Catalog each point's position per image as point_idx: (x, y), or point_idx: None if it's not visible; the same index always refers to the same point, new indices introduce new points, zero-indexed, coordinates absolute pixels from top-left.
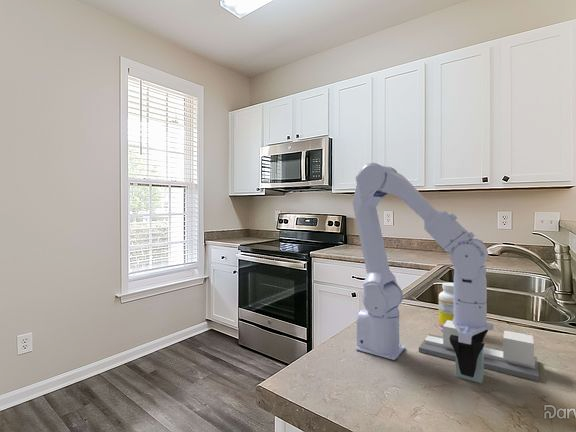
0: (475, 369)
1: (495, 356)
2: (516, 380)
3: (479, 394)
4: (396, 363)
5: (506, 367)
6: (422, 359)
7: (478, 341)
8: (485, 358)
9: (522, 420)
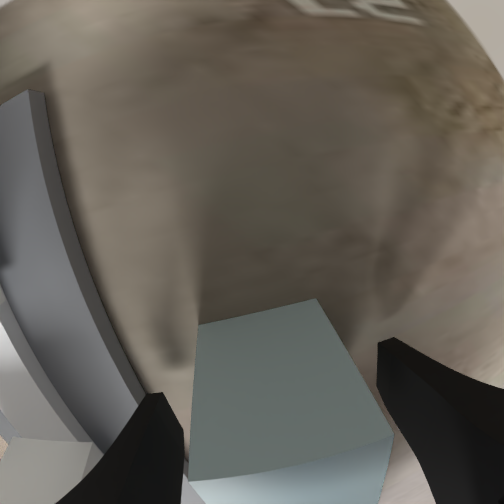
0: (416, 356)
1: (11, 338)
2: (117, 177)
3: (426, 266)
4: None
5: (53, 259)
6: None
7: (135, 501)
8: (55, 368)
9: (488, 97)
